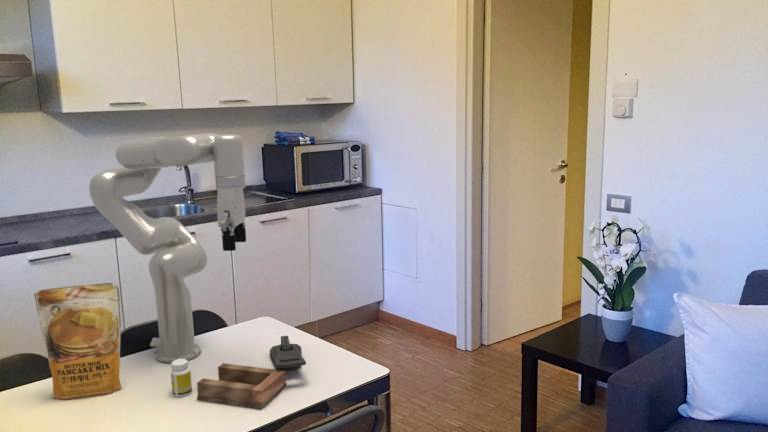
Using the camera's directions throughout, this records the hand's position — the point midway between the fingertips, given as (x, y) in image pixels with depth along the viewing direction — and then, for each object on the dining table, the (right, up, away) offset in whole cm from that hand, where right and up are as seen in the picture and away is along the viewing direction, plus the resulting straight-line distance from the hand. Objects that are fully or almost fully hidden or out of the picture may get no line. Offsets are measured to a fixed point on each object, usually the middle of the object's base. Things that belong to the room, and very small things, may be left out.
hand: (235, 246), depth 174 cm
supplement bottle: (-11, -37, -8) cm, 40 cm away
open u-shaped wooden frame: (+4, -37, -9) cm, 38 cm away
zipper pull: (+13, -34, +5) cm, 37 cm away
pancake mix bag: (-36, -37, -6) cm, 52 cm away
